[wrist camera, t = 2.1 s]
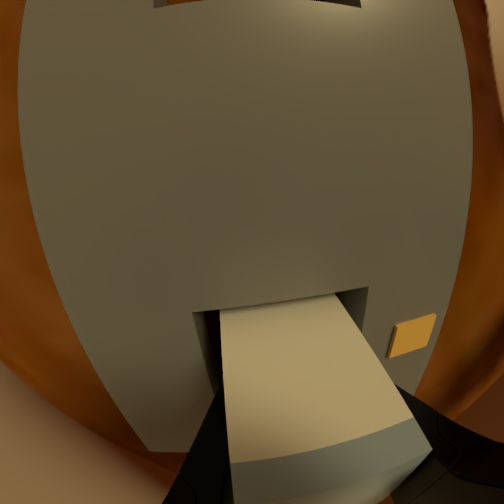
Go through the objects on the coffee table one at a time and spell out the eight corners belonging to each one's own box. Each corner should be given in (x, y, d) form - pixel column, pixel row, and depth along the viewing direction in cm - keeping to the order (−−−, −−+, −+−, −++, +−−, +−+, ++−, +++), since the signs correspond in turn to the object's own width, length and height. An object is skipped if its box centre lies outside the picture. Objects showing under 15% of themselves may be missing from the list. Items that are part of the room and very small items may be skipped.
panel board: (380, -83, 4) (405, -105, 2) (390, 377, 15) (409, 408, 12) (79, -75, 3) (59, -100, 1) (154, 416, 14) (149, 454, 11)
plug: (321, 273, 11) (432, 449, 4) (317, 348, 13) (381, 501, 5) (218, 288, 11) (234, 506, 4) (231, 362, 12) (252, 532, 5)
